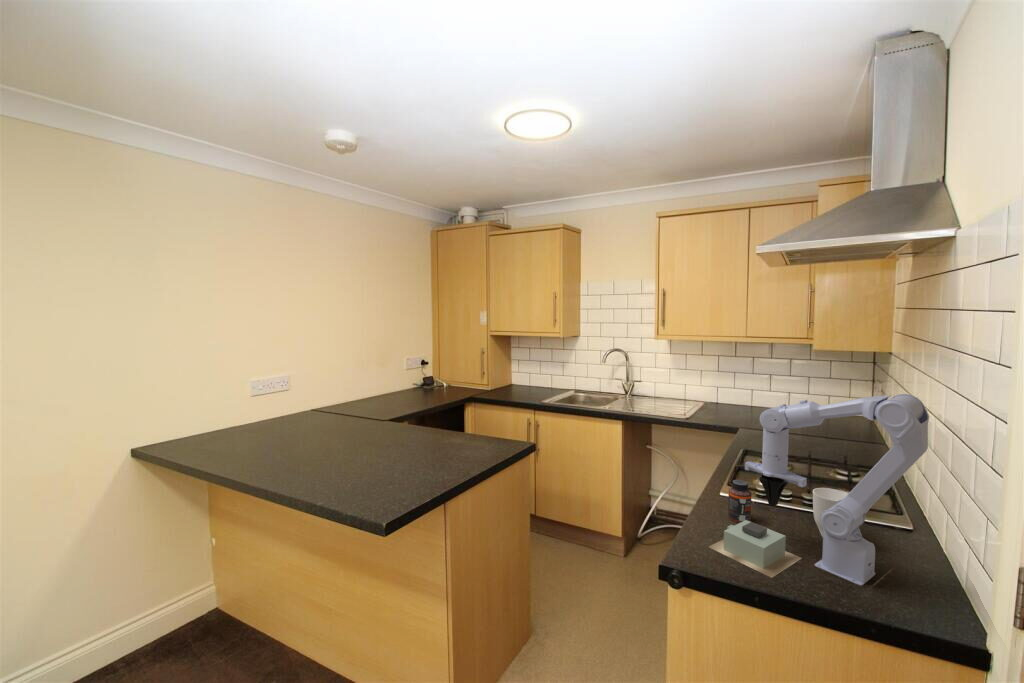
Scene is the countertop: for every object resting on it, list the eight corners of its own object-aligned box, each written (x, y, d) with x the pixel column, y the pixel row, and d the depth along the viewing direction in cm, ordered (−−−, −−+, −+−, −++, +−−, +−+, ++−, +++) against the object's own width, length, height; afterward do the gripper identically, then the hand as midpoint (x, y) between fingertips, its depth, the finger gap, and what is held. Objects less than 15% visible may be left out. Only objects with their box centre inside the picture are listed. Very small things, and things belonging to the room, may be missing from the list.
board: (802, 559, 110) (802, 558, 110) (771, 579, 102) (771, 577, 102) (738, 532, 123) (738, 531, 123) (708, 548, 116) (708, 546, 116)
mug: (849, 550, 114) (849, 503, 113) (808, 538, 120) (808, 494, 119) (859, 533, 121) (859, 490, 121) (820, 523, 128) (820, 482, 127)
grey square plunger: (766, 550, 112) (766, 528, 112) (757, 555, 110) (758, 533, 110) (750, 543, 115) (751, 522, 115) (741, 548, 113) (742, 526, 113)
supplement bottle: (748, 527, 126) (749, 487, 125) (725, 521, 130) (726, 483, 129) (752, 518, 131) (753, 481, 130) (730, 513, 135) (731, 476, 134)
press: (785, 555, 111) (785, 535, 111) (763, 568, 106) (763, 548, 106) (739, 535, 121) (740, 517, 121) (717, 546, 116) (718, 528, 115)
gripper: (739, 448, 120) (737, 498, 121) (797, 465, 108) (795, 519, 109) (753, 444, 124) (751, 491, 125) (811, 459, 111) (809, 511, 113)
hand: (773, 504), depth 117 cm, fingers closed
